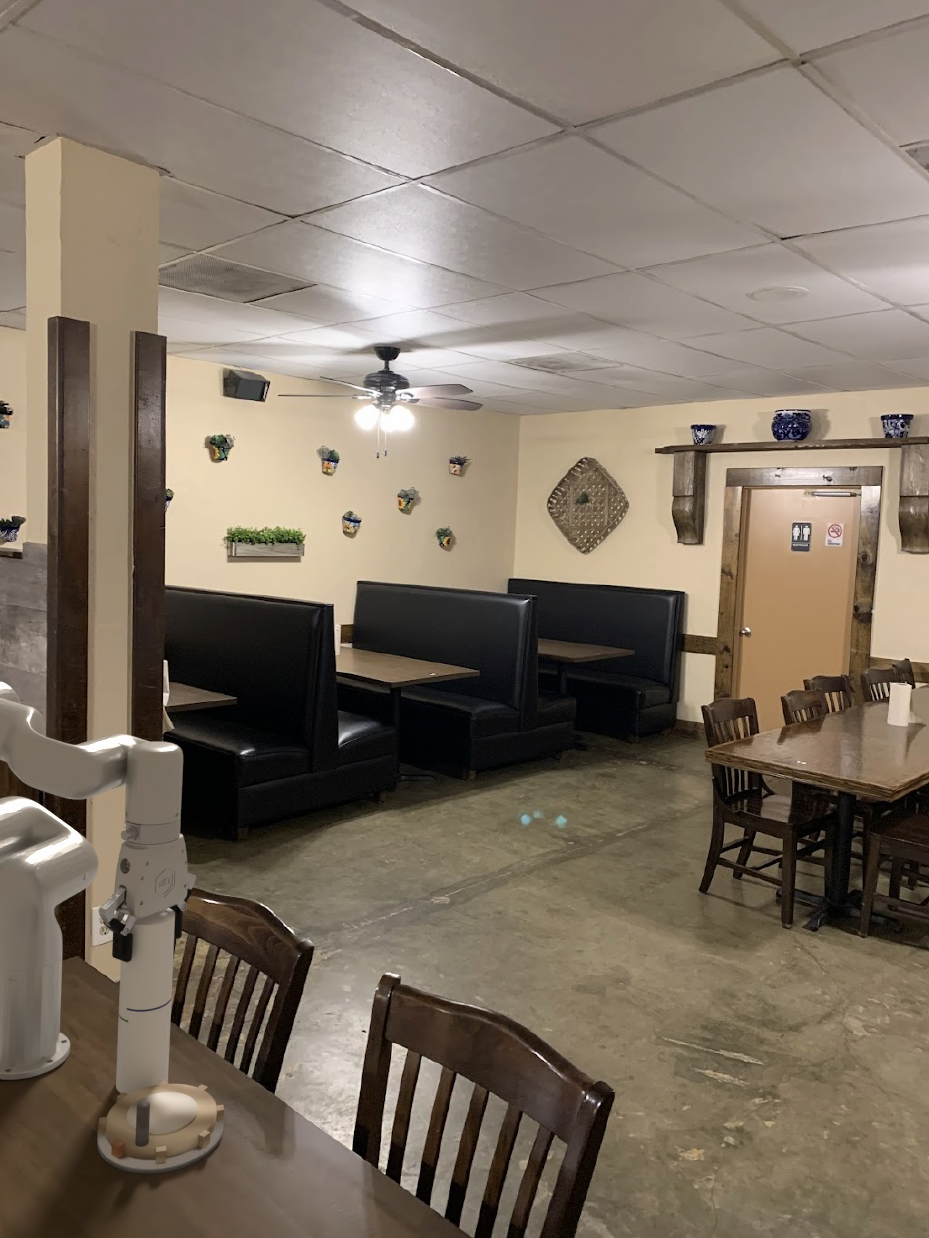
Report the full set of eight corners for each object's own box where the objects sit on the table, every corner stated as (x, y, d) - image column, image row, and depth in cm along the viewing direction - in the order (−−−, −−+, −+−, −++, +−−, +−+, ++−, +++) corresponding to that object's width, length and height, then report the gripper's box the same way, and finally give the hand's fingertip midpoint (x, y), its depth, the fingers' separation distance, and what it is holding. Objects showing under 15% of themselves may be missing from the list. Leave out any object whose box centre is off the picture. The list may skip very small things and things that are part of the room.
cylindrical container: (151, 1100, 133) (158, 928, 131) (105, 1091, 134) (112, 921, 132) (177, 1073, 140) (184, 909, 138) (133, 1065, 141) (139, 902, 139)
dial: (133, 1085, 134) (134, 1041, 133) (236, 1098, 132) (238, 1054, 132) (79, 1152, 119) (81, 1103, 118) (194, 1168, 117) (197, 1118, 117)
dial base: (70, 1144, 122) (70, 1137, 122) (162, 1085, 136) (162, 1079, 136) (160, 1190, 115) (161, 1182, 115) (248, 1123, 129) (248, 1116, 129)
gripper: (123, 851, 125) (118, 977, 126) (215, 821, 140) (210, 933, 141) (83, 839, 128) (79, 962, 129) (177, 811, 143) (173, 921, 145)
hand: (147, 947), depth 135 cm, fingers open, 9 cm apart
